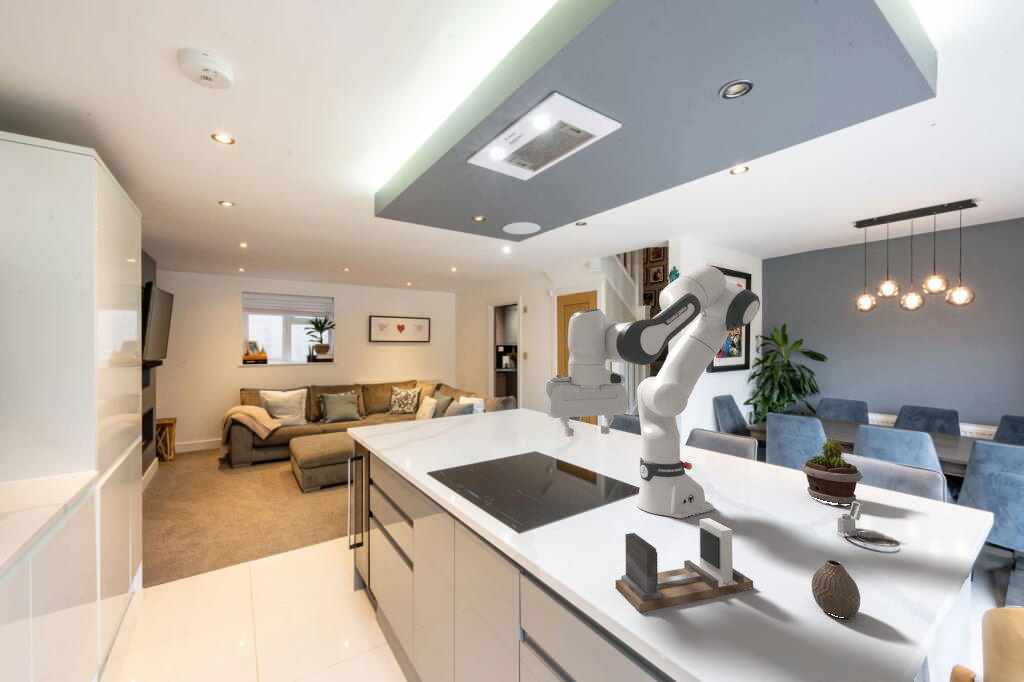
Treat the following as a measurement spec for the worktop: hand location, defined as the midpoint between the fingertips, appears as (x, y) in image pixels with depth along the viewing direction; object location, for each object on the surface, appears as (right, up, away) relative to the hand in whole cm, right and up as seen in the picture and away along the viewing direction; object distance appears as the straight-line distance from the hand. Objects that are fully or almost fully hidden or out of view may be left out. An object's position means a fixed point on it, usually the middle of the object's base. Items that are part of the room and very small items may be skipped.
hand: (587, 434), depth 98 cm
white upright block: (+23, -25, -14) cm, 37 cm away
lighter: (+69, -28, +8) cm, 75 cm away
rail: (+16, -27, -17) cm, 35 cm away
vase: (+40, -27, -24) cm, 54 cm away
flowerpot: (+83, -28, +32) cm, 93 cm away
